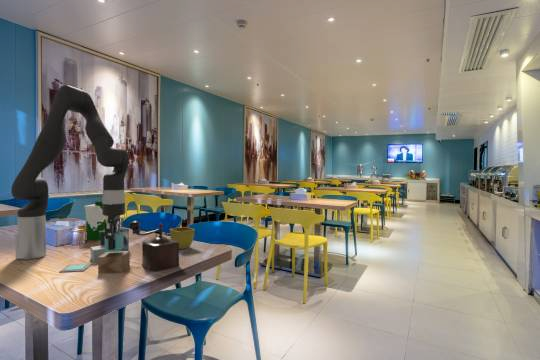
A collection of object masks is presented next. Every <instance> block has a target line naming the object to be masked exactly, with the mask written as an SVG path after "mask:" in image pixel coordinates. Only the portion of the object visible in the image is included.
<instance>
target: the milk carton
mask: <svg viewBox="0 0 540 360" xmlns="http://www.w3.org/2000/svg"><path fill="white" fill-rule="evenodd" d="M94 203H95V204H88V205H83V207H84V211H85V233H86V232H87V240H86V241H101V232H102V231H105V227H104V224H105V223H107V216H104V215H103V214H102V200H95V202H94Z"/></svg>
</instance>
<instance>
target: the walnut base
mask: <svg viewBox="0 0 540 360" xmlns="http://www.w3.org/2000/svg"><path fill="white" fill-rule="evenodd" d="M130 253H131V251H130V250H129V251H120V252H106V253H104V254H103V255H101V256H99V257H98V262H97V273H98V274H122V273H123V272H125V271H126V270H127V269H128V268H129V267H130V266H131V265H130V263H131V261H130V260H131V257H130V256H131V254H130Z"/></svg>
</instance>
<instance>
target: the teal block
mask: <svg viewBox="0 0 540 360" xmlns="http://www.w3.org/2000/svg"><path fill="white" fill-rule="evenodd" d="M110 235H111V233H110ZM122 249H123V232H120V233H116V238H115V249H114V250H109V249H108V240H107V239H106V238H105V252H120V251H121V250H122Z"/></svg>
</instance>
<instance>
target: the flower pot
mask: <svg viewBox="0 0 540 360" xmlns="http://www.w3.org/2000/svg"><path fill="white" fill-rule="evenodd" d="M195 231H196V230H195V228H191V227H187V226H182V227H174V228H169V234H170V239H171V240H173V241H176V242H179V250H182V249H188V248H190V247H191V246H192V244H193V242H194V237H195Z"/></svg>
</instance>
